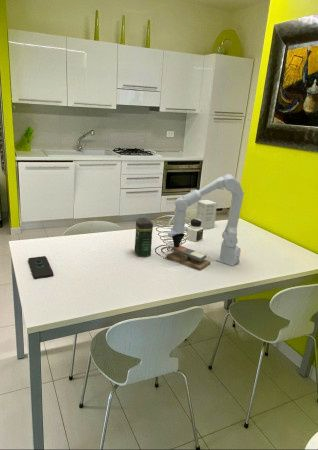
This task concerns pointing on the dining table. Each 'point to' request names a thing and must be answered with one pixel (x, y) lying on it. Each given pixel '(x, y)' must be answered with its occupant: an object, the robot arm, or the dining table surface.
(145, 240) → the coffee jar
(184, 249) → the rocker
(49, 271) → the smart home device
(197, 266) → the switch base
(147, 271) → the dining table surface
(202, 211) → the supplement box
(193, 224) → the medicine bottle
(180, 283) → the dining table surface
